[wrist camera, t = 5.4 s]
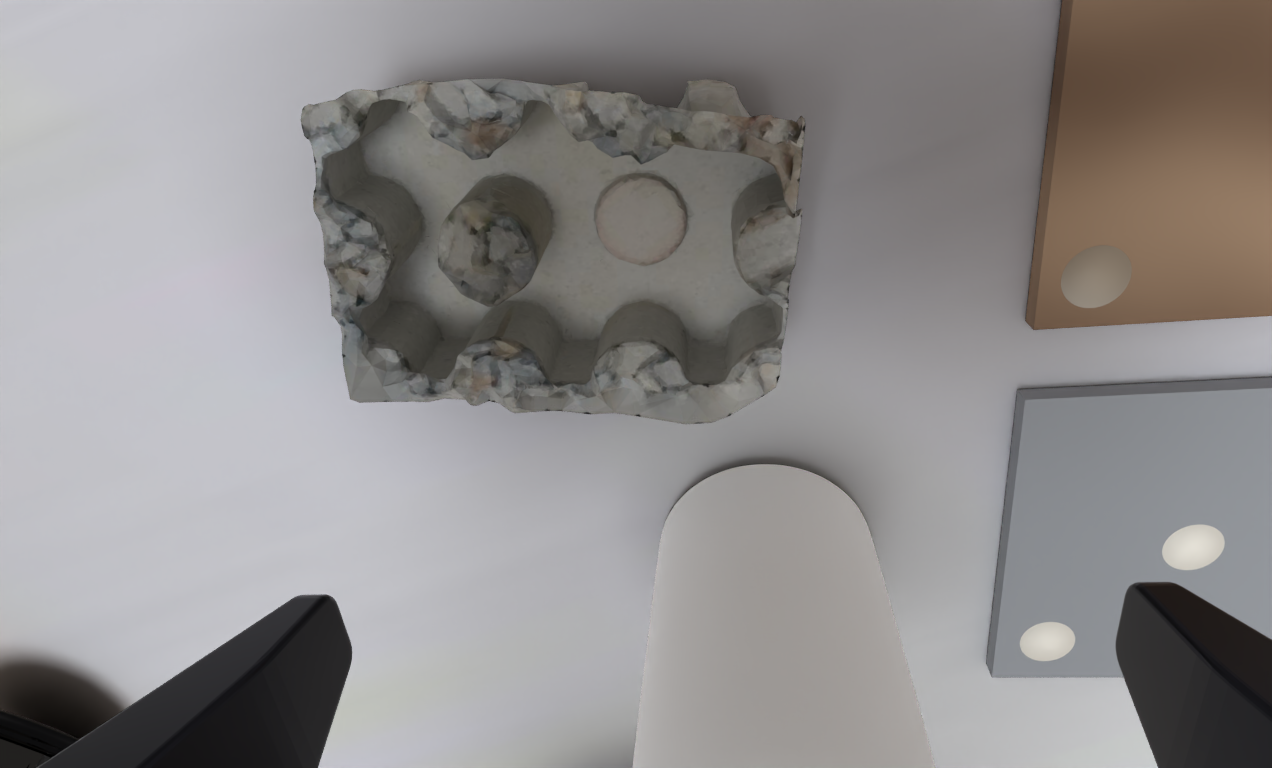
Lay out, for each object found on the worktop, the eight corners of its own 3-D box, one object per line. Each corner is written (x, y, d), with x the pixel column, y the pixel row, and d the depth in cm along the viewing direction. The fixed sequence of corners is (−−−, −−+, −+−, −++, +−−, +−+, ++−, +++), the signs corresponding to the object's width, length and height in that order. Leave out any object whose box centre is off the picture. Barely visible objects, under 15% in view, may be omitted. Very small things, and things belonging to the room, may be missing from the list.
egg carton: (808, 75, 18) (837, 110, 14) (767, 365, 21) (782, 451, 18) (343, 51, 18) (257, 79, 14) (384, 340, 22) (324, 419, 18)
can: (618, 543, 25) (538, 954, 14) (764, 415, 22) (801, 798, 12) (762, 654, 26) (789, 1103, 16) (915, 545, 24) (1073, 994, 13)
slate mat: (1326, 661, 24) (1340, 677, 24) (986, 662, 25) (991, 677, 25) (1433, 369, 20) (1454, 379, 19) (1017, 389, 21) (1025, 400, 21)
